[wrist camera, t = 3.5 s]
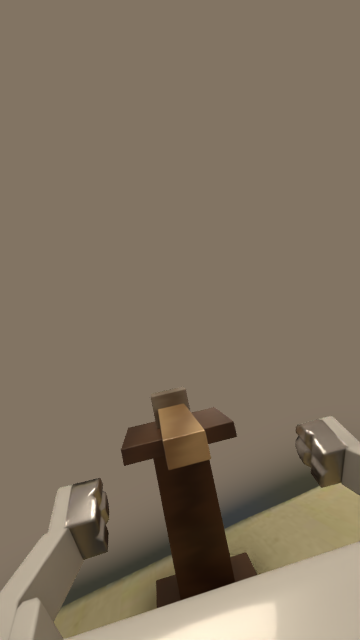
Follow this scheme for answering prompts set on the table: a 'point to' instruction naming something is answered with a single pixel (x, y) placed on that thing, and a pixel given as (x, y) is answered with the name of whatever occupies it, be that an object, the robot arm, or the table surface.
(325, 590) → the robot arm
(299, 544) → the table surface
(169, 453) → the beech bar
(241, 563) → the wooden pedestal stand
